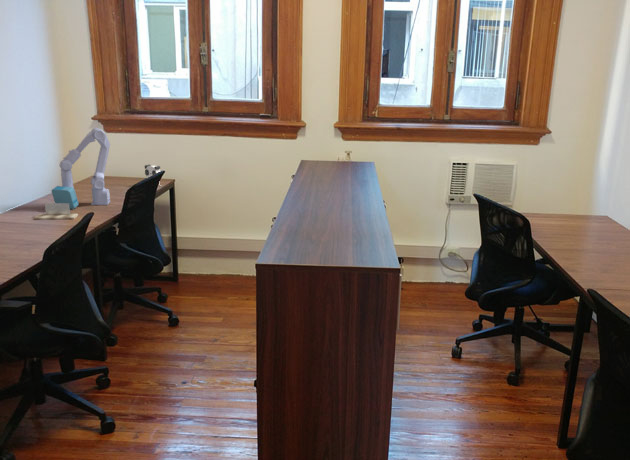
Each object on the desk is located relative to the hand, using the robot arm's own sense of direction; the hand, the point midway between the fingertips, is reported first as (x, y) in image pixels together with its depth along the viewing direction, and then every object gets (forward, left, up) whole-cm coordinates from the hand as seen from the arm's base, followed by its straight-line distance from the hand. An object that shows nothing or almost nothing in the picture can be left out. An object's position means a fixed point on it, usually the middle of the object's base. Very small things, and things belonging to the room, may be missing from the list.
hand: (69, 203), depth 322 cm
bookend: (0, +25, -1) cm, 25 cm away
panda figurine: (-40, -51, -2) cm, 65 cm away
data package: (0, +4, -1) cm, 4 cm away
